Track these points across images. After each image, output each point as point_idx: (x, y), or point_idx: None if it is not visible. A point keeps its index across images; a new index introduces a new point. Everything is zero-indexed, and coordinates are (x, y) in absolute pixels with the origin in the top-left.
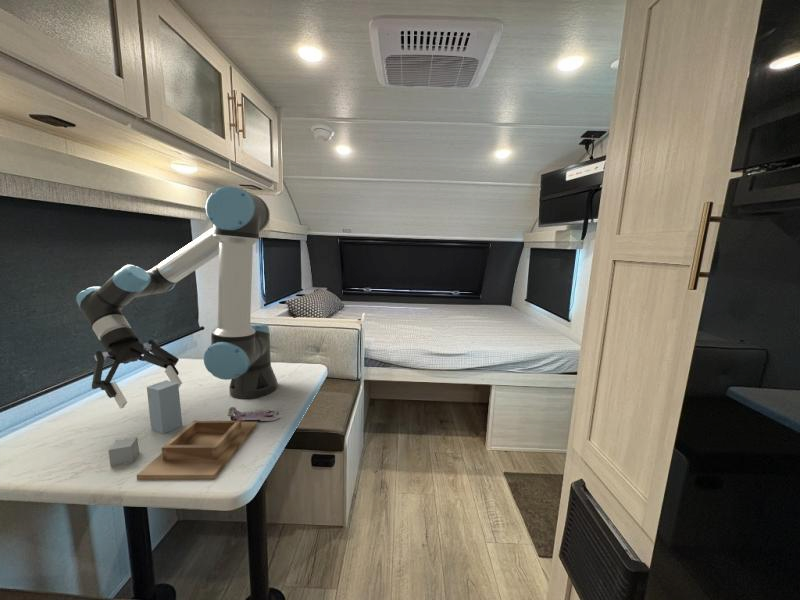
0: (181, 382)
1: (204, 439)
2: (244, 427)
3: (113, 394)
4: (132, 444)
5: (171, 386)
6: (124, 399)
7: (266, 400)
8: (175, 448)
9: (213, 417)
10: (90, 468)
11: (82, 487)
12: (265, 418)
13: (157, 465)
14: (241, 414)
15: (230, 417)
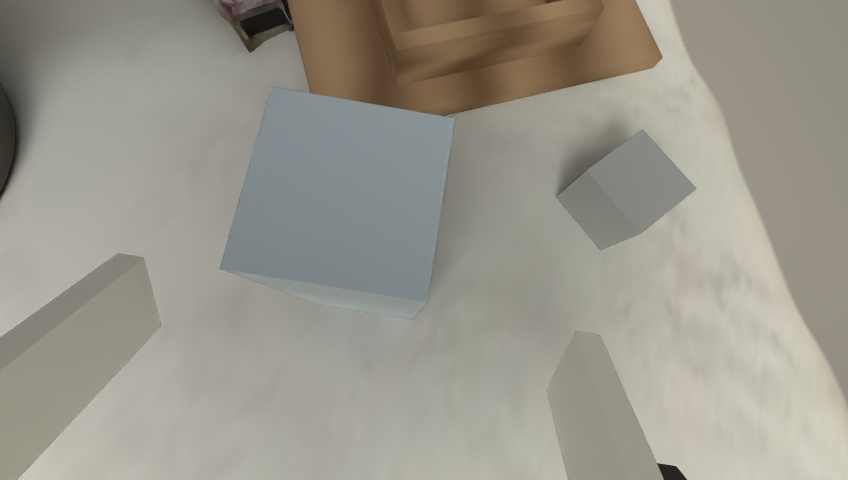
0: (115, 259)
1: (435, 12)
2: None
3: (664, 465)
4: (627, 141)
5: (337, 104)
6: (593, 355)
7: (29, 19)
8: None
9: (244, 136)
10: (684, 268)
11: (743, 185)
12: None
13: (605, 39)
14: None
15: (249, 39)
